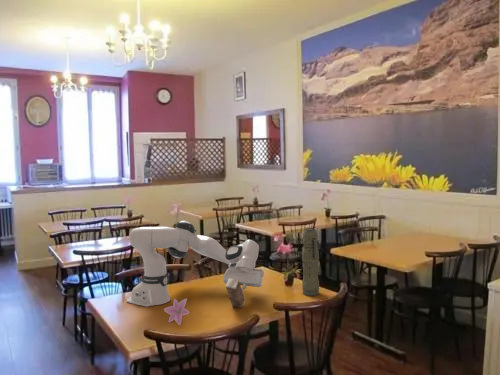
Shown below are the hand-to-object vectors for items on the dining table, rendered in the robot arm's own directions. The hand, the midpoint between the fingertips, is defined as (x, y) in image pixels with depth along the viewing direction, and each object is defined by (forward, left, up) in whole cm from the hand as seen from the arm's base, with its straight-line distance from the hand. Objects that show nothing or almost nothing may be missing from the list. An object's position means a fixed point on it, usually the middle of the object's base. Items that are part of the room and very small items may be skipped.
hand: (239, 292), depth 216 cm
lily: (-20, -27, -7) cm, 34 cm away
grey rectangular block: (0, 0, -5) cm, 5 cm away
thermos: (+30, +29, -7) cm, 42 cm away
